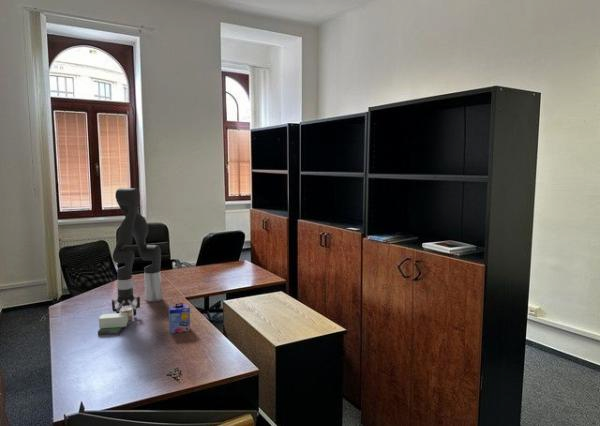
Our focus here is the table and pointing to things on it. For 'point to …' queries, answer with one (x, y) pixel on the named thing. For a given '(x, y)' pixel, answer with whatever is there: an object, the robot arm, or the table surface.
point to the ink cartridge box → (179, 318)
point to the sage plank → (113, 320)
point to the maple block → (128, 311)
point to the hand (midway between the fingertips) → (126, 316)
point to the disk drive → (111, 330)
